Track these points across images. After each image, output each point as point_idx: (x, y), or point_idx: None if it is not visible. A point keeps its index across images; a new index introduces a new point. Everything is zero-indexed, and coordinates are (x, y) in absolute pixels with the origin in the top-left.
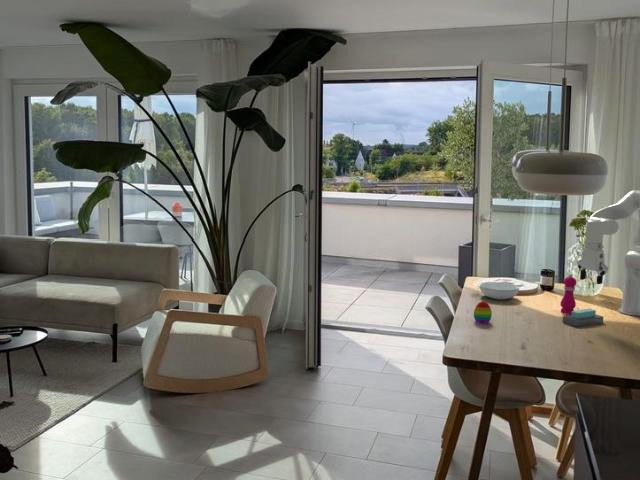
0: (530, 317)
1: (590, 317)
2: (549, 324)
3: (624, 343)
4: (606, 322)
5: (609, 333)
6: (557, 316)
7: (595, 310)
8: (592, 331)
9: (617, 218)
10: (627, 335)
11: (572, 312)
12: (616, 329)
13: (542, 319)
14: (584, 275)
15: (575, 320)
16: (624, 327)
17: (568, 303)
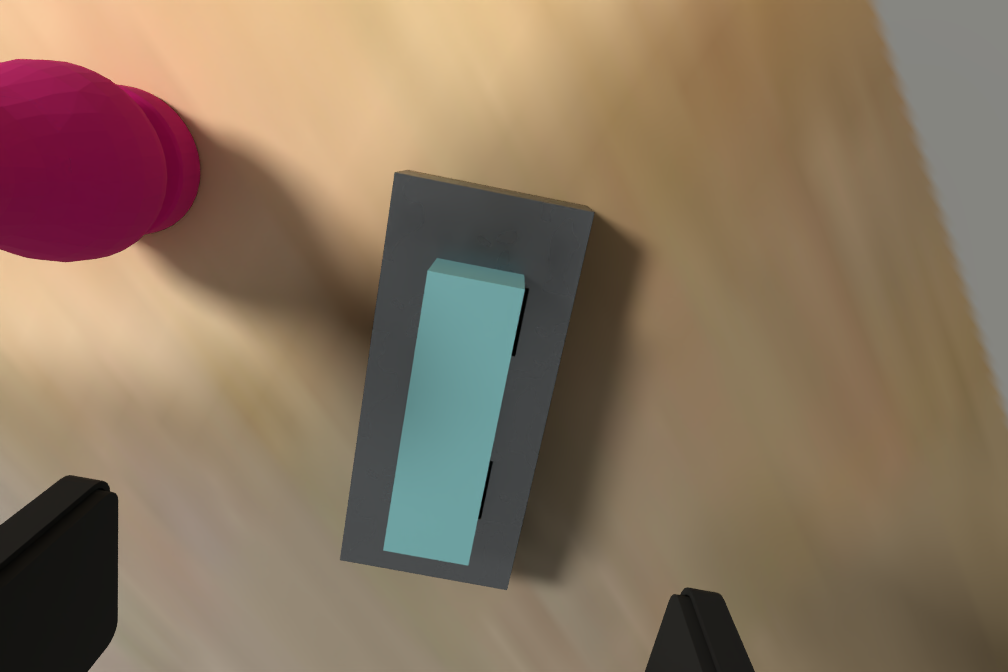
0: None
1: (522, 371)
2: (340, 657)
3: (997, 642)
4: (600, 152)
5: (799, 493)
6: (189, 383)
7: (521, 291)
8: (671, 556)
9: None
10: (941, 420)
11: (398, 545)
12: (789, 319)
13: (203, 581)
14: (30, 628)
15: (497, 587)
16: (817, 173)
17: (103, 243)
